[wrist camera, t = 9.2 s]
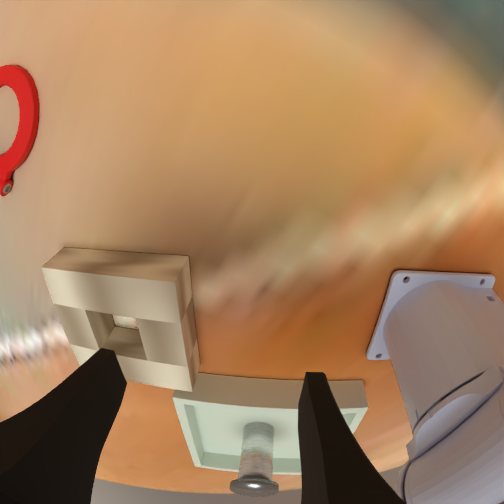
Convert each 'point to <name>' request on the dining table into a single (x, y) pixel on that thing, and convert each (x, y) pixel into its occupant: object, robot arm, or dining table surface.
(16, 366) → the dining table surface
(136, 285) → the pin block
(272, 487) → the steel pin
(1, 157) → the tow hook
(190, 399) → the tray
